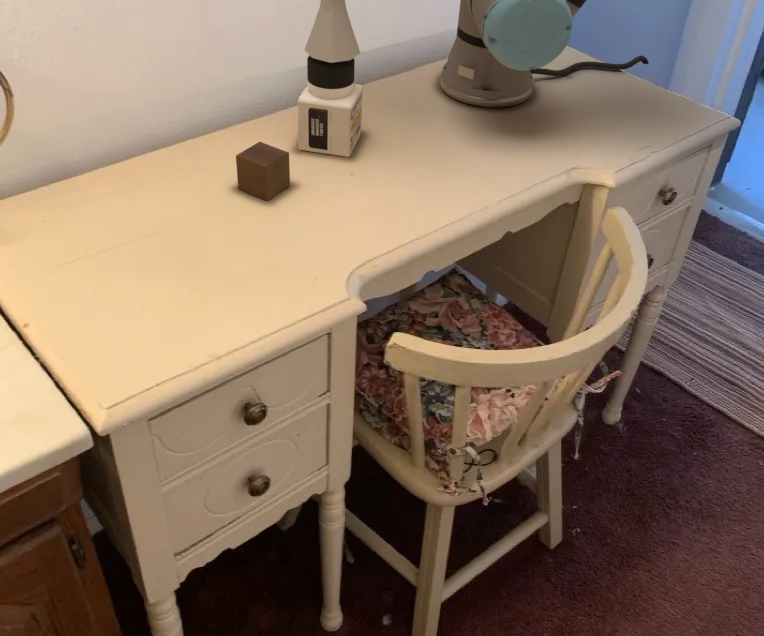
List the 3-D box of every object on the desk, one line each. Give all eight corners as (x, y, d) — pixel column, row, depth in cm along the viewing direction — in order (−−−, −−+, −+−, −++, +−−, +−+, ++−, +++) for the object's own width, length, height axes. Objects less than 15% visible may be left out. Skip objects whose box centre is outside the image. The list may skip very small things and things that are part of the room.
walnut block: (261, 174, 115) (259, 141, 112) (290, 186, 114) (289, 152, 110) (238, 189, 112) (235, 155, 109) (267, 201, 111) (265, 167, 107)
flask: (334, 39, 118) (335, -37, 111) (369, 55, 115) (372, -22, 108) (295, 51, 114) (293, -27, 107) (330, 68, 111) (331, -11, 104)
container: (349, 158, 120) (352, 68, 111) (297, 150, 121) (296, 61, 112) (361, 134, 126) (364, 47, 117) (311, 126, 126) (311, 40, 117)
